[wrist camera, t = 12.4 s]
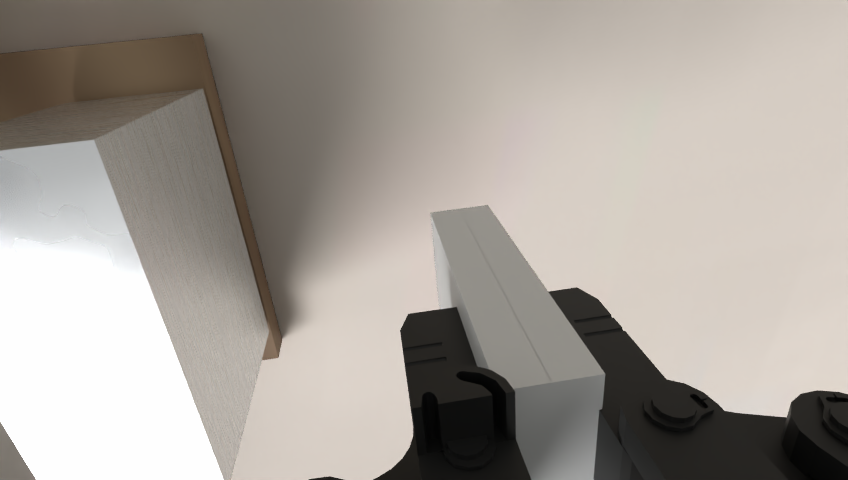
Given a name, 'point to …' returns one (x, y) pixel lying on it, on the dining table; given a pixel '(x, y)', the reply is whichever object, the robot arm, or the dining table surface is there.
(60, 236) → the bookend
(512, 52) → the dining table surface
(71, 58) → the caddy
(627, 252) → the dining table surface
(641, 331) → the dining table surface
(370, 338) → the dining table surface
